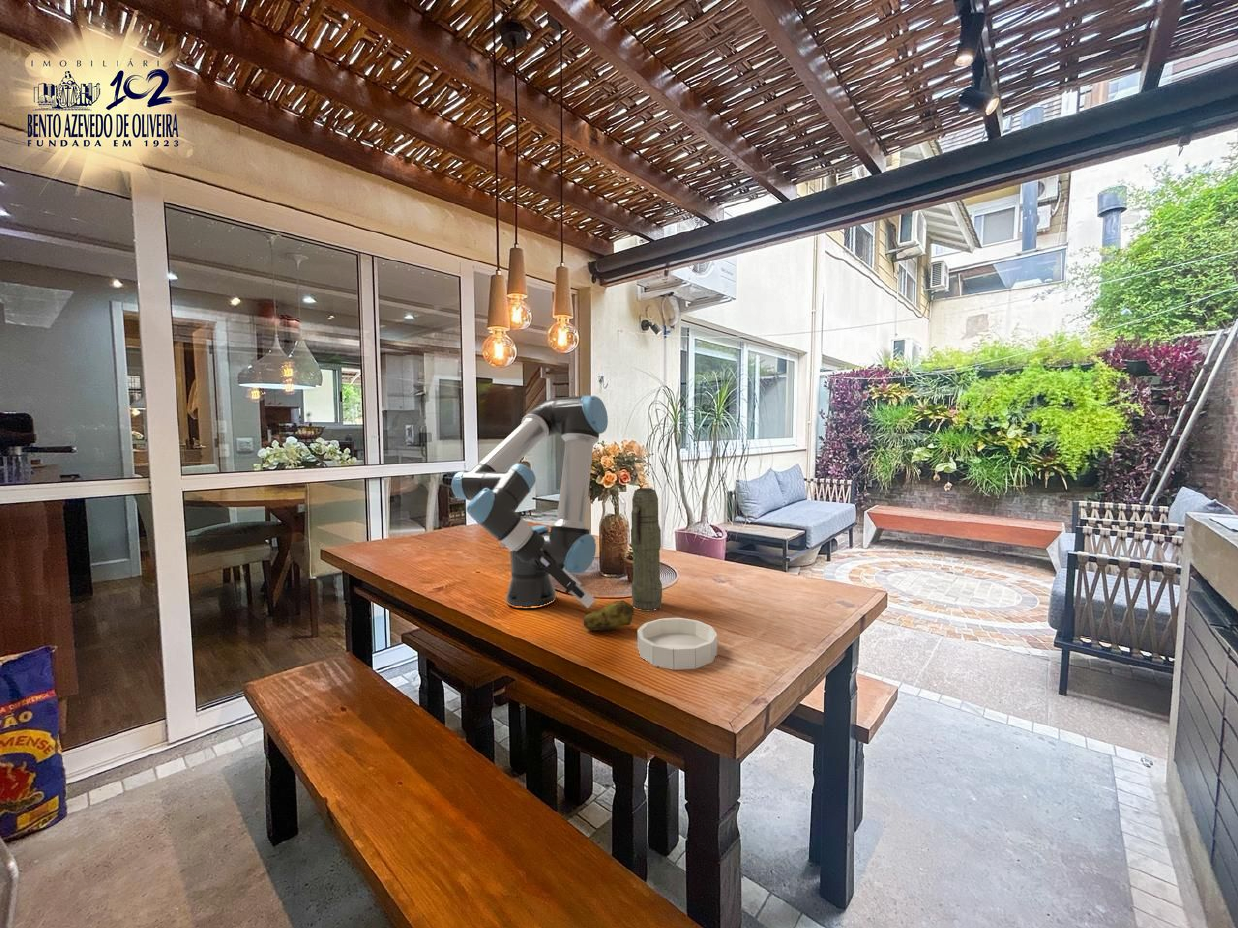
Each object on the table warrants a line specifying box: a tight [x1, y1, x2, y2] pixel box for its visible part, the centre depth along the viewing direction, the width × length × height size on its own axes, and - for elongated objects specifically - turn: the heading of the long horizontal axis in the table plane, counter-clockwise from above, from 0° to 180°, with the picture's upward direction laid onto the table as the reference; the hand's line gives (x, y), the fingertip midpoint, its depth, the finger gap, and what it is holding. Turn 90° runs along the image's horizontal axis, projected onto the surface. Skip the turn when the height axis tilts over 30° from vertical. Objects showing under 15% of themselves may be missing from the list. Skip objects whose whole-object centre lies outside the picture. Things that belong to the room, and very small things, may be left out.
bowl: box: [636, 617, 718, 671], centre depth 114 cm, size 18×18×4 cm
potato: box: [583, 600, 635, 632], centre depth 127 cm, size 8×13×8 cm, turn 64°
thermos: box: [630, 487, 663, 611], centre depth 144 cm, size 9×12×35 cm
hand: (584, 595), depth 123 cm, fingers open, 13 cm apart
